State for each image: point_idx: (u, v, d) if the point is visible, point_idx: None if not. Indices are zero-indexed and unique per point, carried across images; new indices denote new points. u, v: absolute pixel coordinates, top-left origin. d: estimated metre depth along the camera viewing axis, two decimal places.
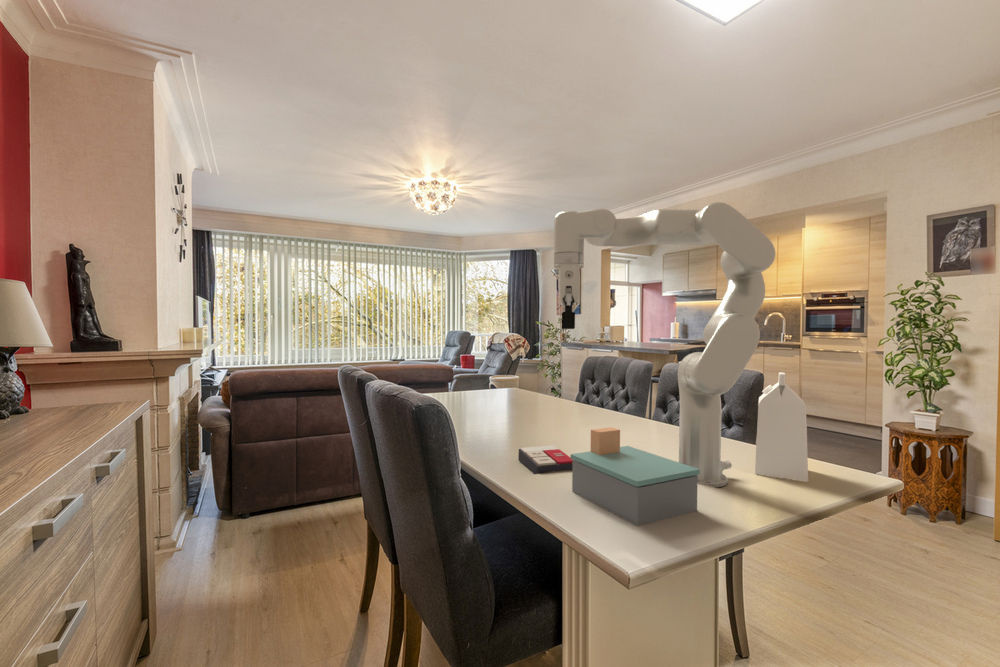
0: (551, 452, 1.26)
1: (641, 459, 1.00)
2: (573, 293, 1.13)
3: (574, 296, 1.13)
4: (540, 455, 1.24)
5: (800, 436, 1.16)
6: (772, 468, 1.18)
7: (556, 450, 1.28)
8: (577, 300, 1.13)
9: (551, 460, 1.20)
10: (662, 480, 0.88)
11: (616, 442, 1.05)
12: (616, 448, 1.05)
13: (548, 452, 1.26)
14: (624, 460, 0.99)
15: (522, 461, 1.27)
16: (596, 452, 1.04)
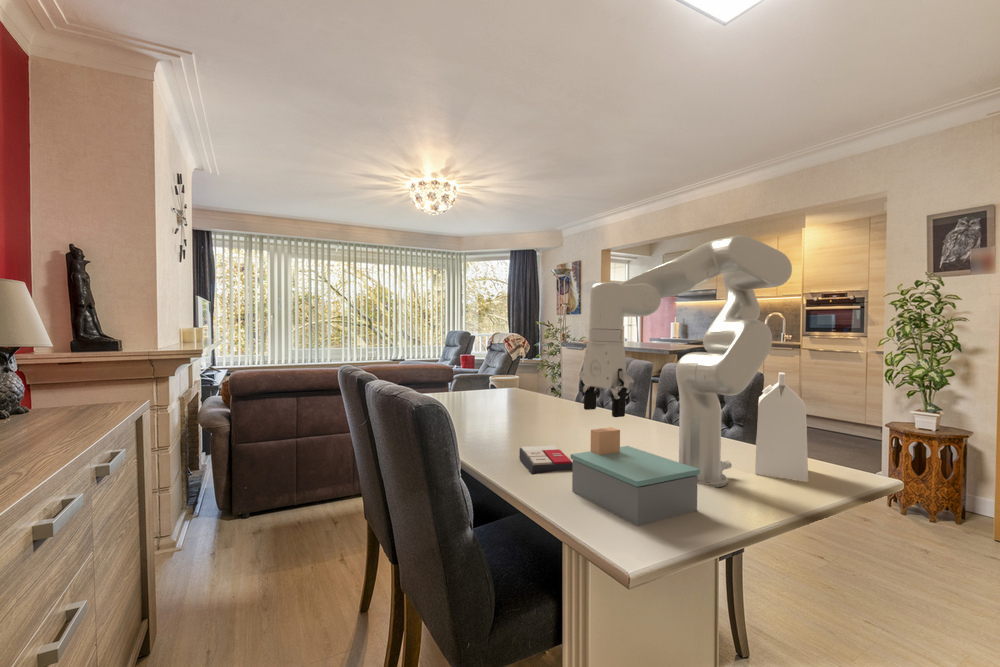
0: (550, 452, 1.26)
1: (641, 459, 1.00)
2: None
3: None
4: (538, 454, 1.24)
5: (800, 436, 1.16)
6: (772, 468, 1.18)
7: (556, 450, 1.28)
8: None
9: (548, 460, 1.20)
10: (662, 480, 0.88)
11: (616, 442, 1.05)
12: (616, 448, 1.05)
13: (547, 452, 1.26)
14: (624, 460, 0.99)
15: (522, 460, 1.28)
16: (596, 452, 1.04)
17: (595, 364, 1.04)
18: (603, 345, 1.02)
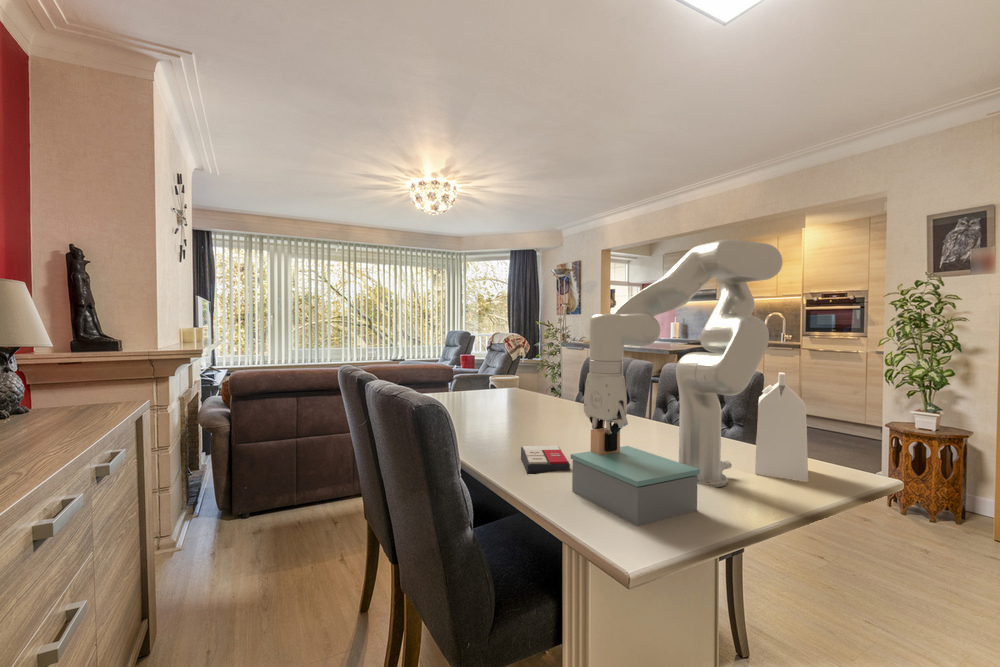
0: (549, 452, 1.26)
1: (641, 459, 1.00)
2: None
3: None
4: (537, 454, 1.25)
5: (800, 436, 1.16)
6: (772, 468, 1.18)
7: (556, 450, 1.28)
8: None
9: (544, 459, 1.20)
10: (662, 480, 0.88)
11: None
12: None
13: (546, 452, 1.27)
14: (624, 460, 0.99)
15: (522, 459, 1.29)
16: (596, 452, 1.04)
17: (595, 396, 1.05)
18: (603, 377, 1.02)
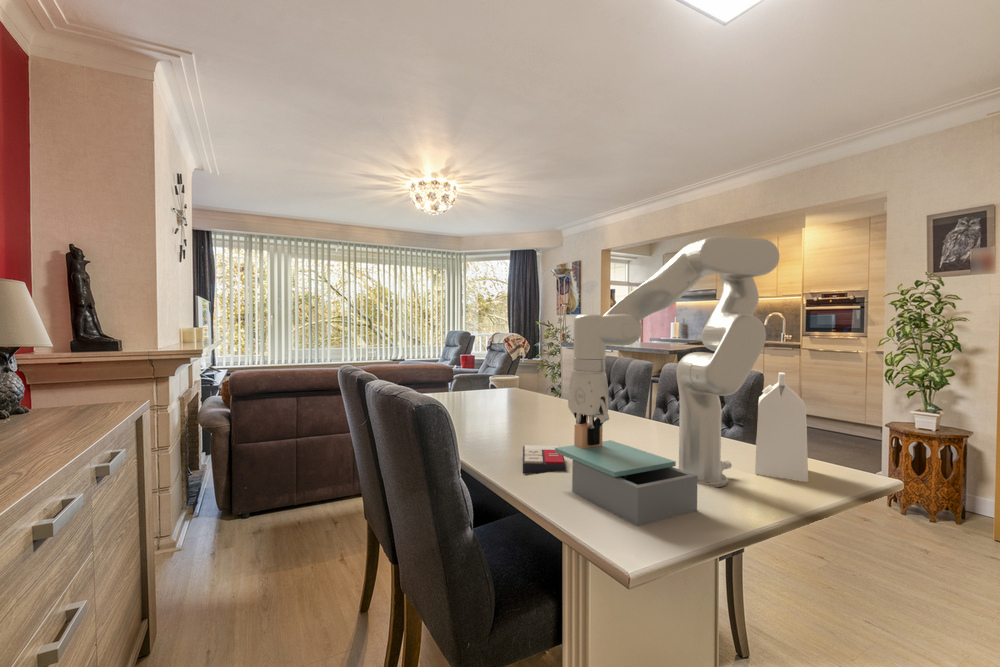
0: (548, 452, 1.26)
1: (621, 452, 1.05)
2: None
3: None
4: (535, 453, 1.26)
5: (800, 436, 1.16)
6: (772, 468, 1.18)
7: None
8: None
9: (540, 459, 1.21)
10: (639, 471, 0.94)
11: None
12: None
13: (546, 451, 1.27)
14: (605, 453, 1.04)
15: None
16: (579, 446, 1.09)
17: (579, 392, 1.10)
18: (586, 374, 1.08)
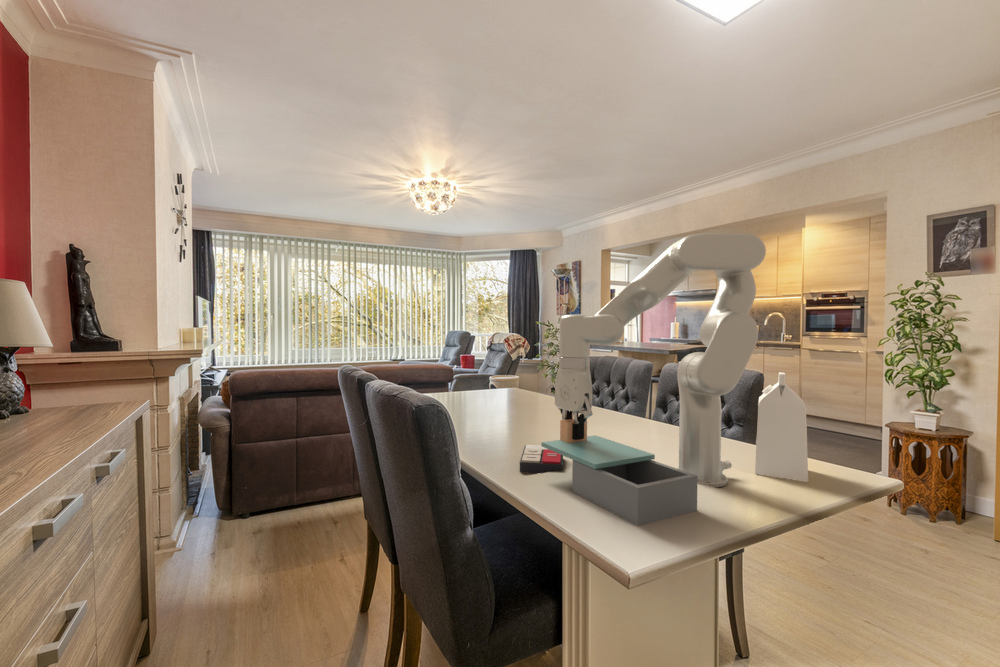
0: (548, 452, 1.26)
1: (604, 446, 1.10)
2: None
3: None
4: (534, 452, 1.26)
5: (800, 436, 1.16)
6: (772, 468, 1.18)
7: None
8: None
9: (537, 458, 1.21)
10: (619, 463, 0.99)
11: None
12: None
13: (545, 451, 1.27)
14: (589, 447, 1.10)
15: None
16: (565, 440, 1.15)
17: (564, 389, 1.15)
18: (571, 372, 1.13)
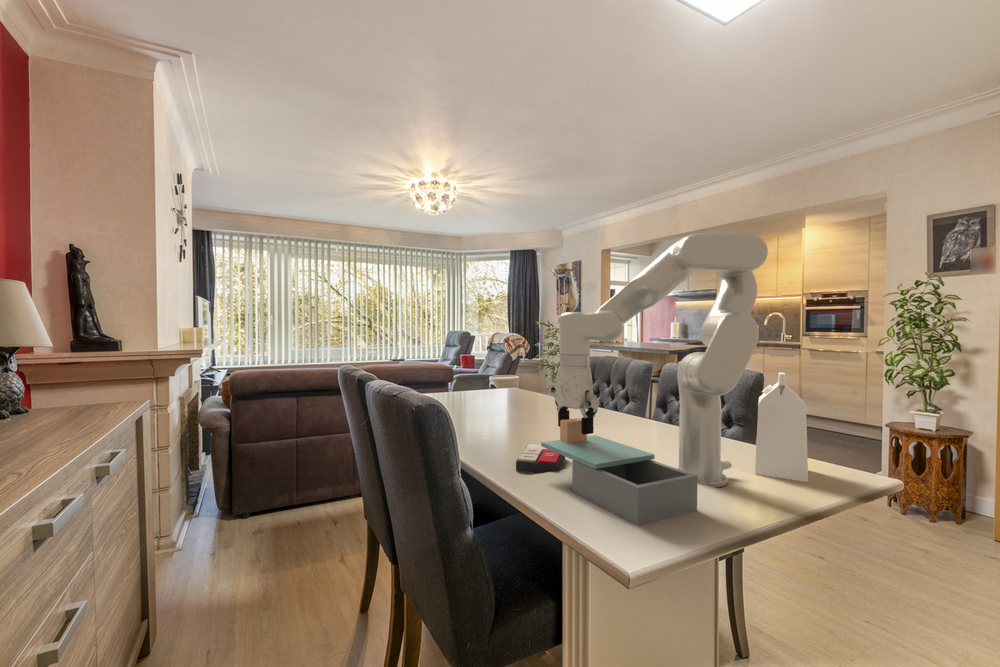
0: (547, 452, 1.27)
1: (604, 446, 1.10)
2: None
3: None
4: (533, 452, 1.27)
5: (800, 436, 1.16)
6: (772, 468, 1.18)
7: None
8: None
9: (534, 458, 1.22)
10: (618, 463, 0.99)
11: None
12: (583, 437, 1.16)
13: (545, 451, 1.27)
14: (589, 447, 1.10)
15: None
16: (564, 440, 1.15)
17: (565, 386, 1.15)
18: (571, 369, 1.13)
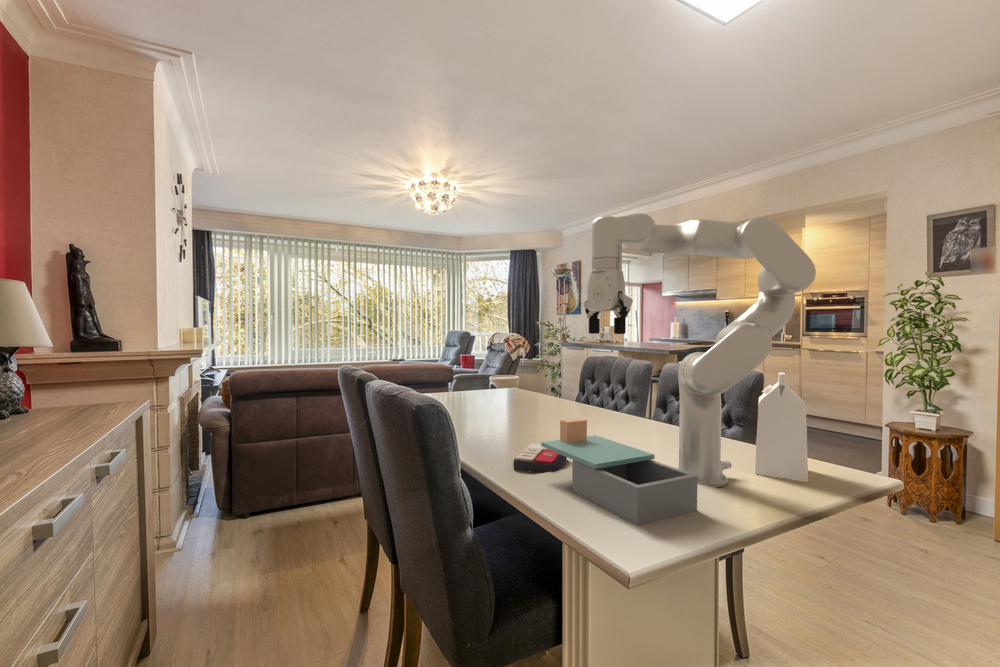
0: (546, 452, 1.27)
1: (604, 446, 1.10)
2: None
3: None
4: (532, 451, 1.27)
5: (800, 436, 1.16)
6: (772, 468, 1.18)
7: None
8: None
9: (531, 457, 1.22)
10: (618, 463, 0.99)
11: (583, 431, 1.16)
12: (583, 437, 1.16)
13: (544, 451, 1.28)
14: (589, 447, 1.10)
15: None
16: (564, 440, 1.15)
17: (597, 290, 1.18)
18: (604, 271, 1.16)
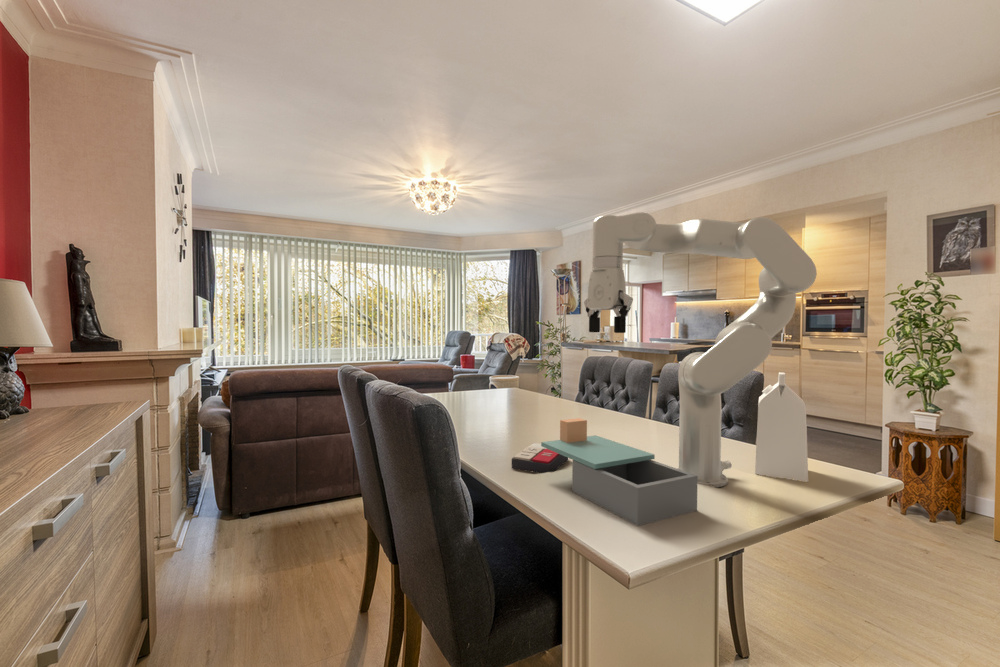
0: (546, 451, 1.27)
1: (604, 446, 1.10)
2: None
3: None
4: (532, 451, 1.28)
5: (800, 436, 1.16)
6: (772, 468, 1.18)
7: None
8: None
9: (529, 456, 1.23)
10: (618, 463, 0.99)
11: (583, 431, 1.16)
12: (583, 437, 1.16)
13: (544, 450, 1.28)
14: (589, 447, 1.10)
15: None
16: (564, 440, 1.15)
17: (598, 289, 1.18)
18: (605, 270, 1.16)
